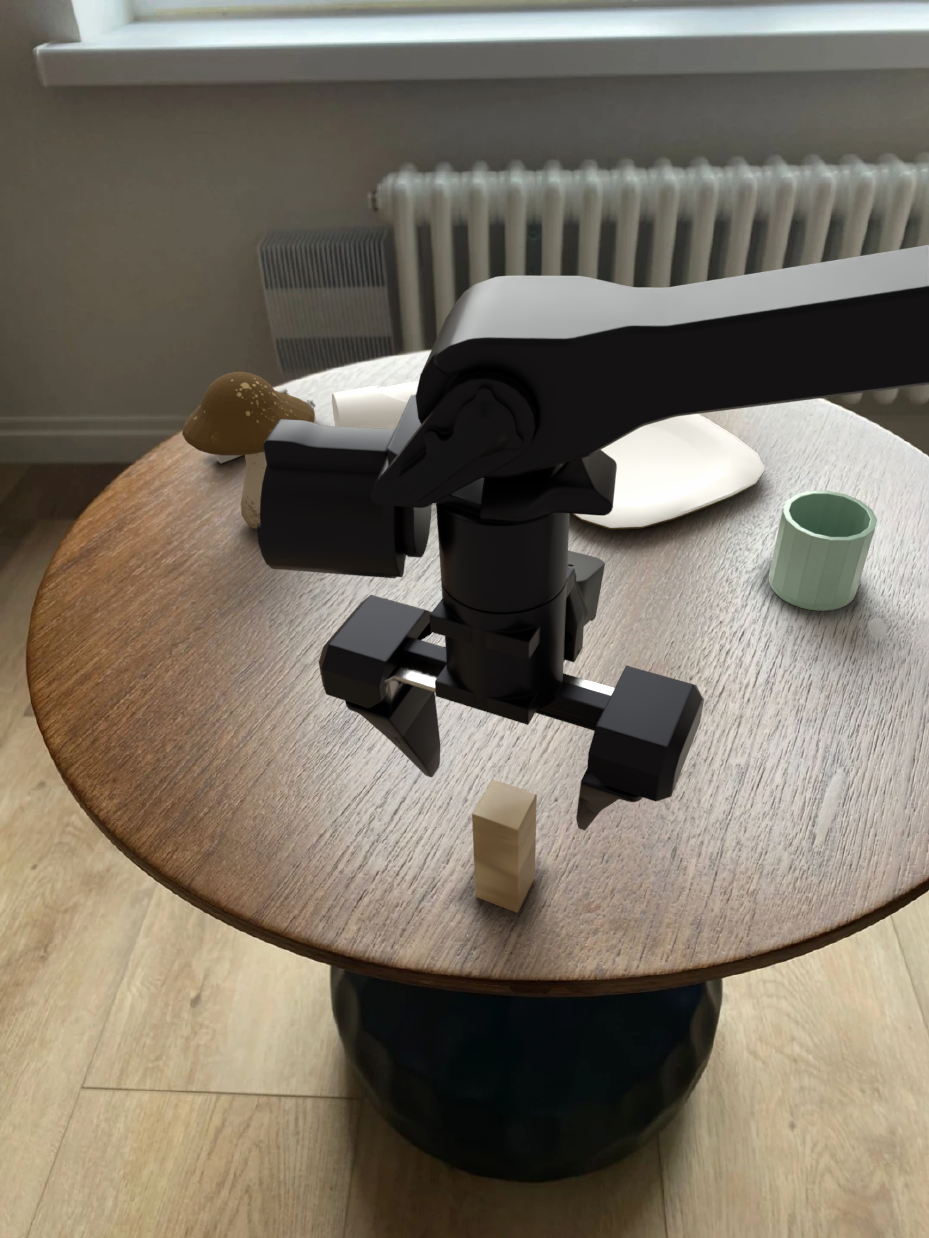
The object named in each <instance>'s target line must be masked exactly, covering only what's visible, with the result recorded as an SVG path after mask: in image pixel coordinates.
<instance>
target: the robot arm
mask: <svg viewBox="0 0 929 1238" xmlns="http://www.w3.org/2000/svg"><path fill="white" fill-rule="evenodd" d="M418 379H419V380H418V381H419V383H418V388H417V392H416V394H415V395H411V396H410V398H409V400H408V403H407V405H406V407H405V409H404V411H403V414H402V416H401V418H400V420H399V423H398V425H397V427H396V429H378V428H359V427H341V426H335V425H325V424H319V423H317V422H316V423H312V422H309V421H302V420H286V419H280V420H279V421H278V422H277V423H276V425H275V426H274V428H273V429H272V431H271V433H270V434H269V436H268V437H267V439H266V440H265V442H264V443H263V448H264V453H265V458H266V463H267V466H266V469H265V474H264V478H263V483H262V490H261V498H260V523H259V524H258V526H257V529H256V538H257V544H258V547H259V550H260V551H259V552H260V554H261V556H262V559H263V560H264V562H265V564H266V565H267V566H268V567H269V568H270V569H273V570H279V571H291V572H292V571H295V572H306V573H317V574H318V573H319V574H331V575H345V576H355V577H356V576H358V577H372V578H383V579H397V578H403V577H404V573H405V565H406V560H407V557H408V558H422V557H423V556H424V554H425V552H426V550H427V547H428V543H429V538H430V531H431V523H432V505H433V504H435V511H436V523H437V525H436V526H437V537H438V538H437V539H438V553H439V555H438V556H439V569H440V570H439V571H440V586H441V599H440V601H439V602H438V603H437V605H436V606H435V607H434V608H433V610H432V611H431V610H427V609H425V608H422V607H417V606H414V605H410V604H406V603H402V602H399V601H396V600H392V599H389V598H385V597H381V596H378V595H374V594H370V595H369V596H367V597H366V598H364V599H363V600H362V601H361V602H360V603H359V604H358V605H357V607H356V608H355V609H354V610H353V611H352V612H351V613H350V614H349V616H348V617H347V618H346V619H345V620H344V621H343V623H342V624H341V625H340V626H339V627H338V628H337V630H336V631H335V632H334V633H333V634H332V636H331V637H330V638H329V639H328V641H327V642H325V644H324V645H323V646H322V649H321V652H320V655H319V660H318V668H319V672H320V678H321V683H322V687H323V690H324V692H325V695H326V696H330V697H333V698H335V699H339V700H342V701H344V703H345V706H346V708H347V709H348V710H349V711H351V712H354V713H356V714H358V715H360V716H362V718H364V719H365V721H367V722H368V723H370V724H371V726H373V727H374V728H375V729H376V730H378V731H379V732H380V733H381V734H382V735H383V736H384V737H385V738H387V739H388V741H390V742H391V743H392V744H393V745H394V746H395V747H396V748H398V750H399V751H400V752H401V753H402V754H403V755H404V756H405V757H406V758H407V759H408V760H410V762H411V763H412V764H413V765H414V766H415V767H416V768H417V769H418V770H419V771H421V772H422V774H423V775H424V776H426V777H427V778H428V777H429V778H433V777H434V775H436V773H437V771H438V769H439V768H440V764H441V737H440V729H439V727H440V726H439V719H438V710H437V701H436V697H437V698H439V699H443V700H447V701H450V702H452V703H456V704H460V705H462V706H466V707H469V708H472V709H475V710H478V711H483V712H484V713H485V712H486V713H488V714H492V715H495V716H498V717H501V718H504V719H508V720H511V721H514V722H517V723H521V724H524V725H527V726H528V725H529V724H530V723H531V721H532V719H533V717H534V716H535V714H538V715H541V716H544V717H547V718H550V719H554V720H558V721H561V722H564V723H568V724H570V725H574V726H576V727H580V728H583V729H587V730H590V731H592V732H593V731H594V732H593V736H592V738H591V742H590V745H589V749H588V753H587V768H586V769H585V772H584V774H583V775H582V778H581V780H580V785H579V793H578V801H577V808H576V817H575V820H576V824H577V828H578V829H579V830H582V831H586V830H587V829H588V828H589V827H590V825H591V824H592V823H593V821H594V820H595V819H596V817H598V815H599V814H600V813H601V812H602V811H603V810H604V809H606V808H608V807H609V806H611V805H612V804H614V803H616V802H617V801H619V800H622V801H625V802H628V803H637V802H640V801H641V800H643V799H647V800H650V801H653V802H659V801H662V800H663V801H664V800H665V799H669V798H671V797H672V796H673V793H674V791H675V788H676V786H677V784H678V781H679V778H680V775H681V773H682V770H683V768H684V765H685V763H686V760H687V757H688V755H689V752H690V750H691V747H692V745H693V742H694V740H695V737H696V734H697V732H698V730H699V728H700V727H699V726H700V724H701V720H702V715H703V709H704V704H705V703H704V702H705V698H704V697H703V695H702V693H701V691H700V690H699V687H698V686H697V685H696V684H694V683H690V682H687V681H683V680H680V679H676V678H673V677H669V676H665V675H663V674H658V673H654V672H651V671H647V670H644V669H641V668H637V667H633V666H629V665H625V667H624V669H623V670H622V672H621V674H620V677H619V679H618V680H617V683H616V684H615V686H614V687H613V686H610V685H606V684H602V683H600V682H595V681H592V680H588V679H586V678H582V677H578V676H574V675H571V674H568V673H564V665H565V664H564V663H565V661H567V662H569V663H570V662H571V663H576V661H577V659H578V657H579V655H580V653H581V651H582V650H583V648H584V647H583V645H584V629H585V626H587V624H588V623H589V622H590V621H591V622H593V621H594V620H595V619H596V617H597V611H598V605H599V601H600V594H601V591H602V590H601V589H602V584H603V578H604V573H605V567H606V562H605V561H604V560H603V559H601V558H599V557H597V556H593V555H589V554H585V553H582V552H581V553H580V552H576V551H573V550H569V540H570V539H569V538H570V537H569V535H570V534H569V533H570V514H571V515H573V514H585V515H600V516H604V515H607V514H609V513H610V512H611V511H612V509H613V501H614V491H615V481H616V470H617V464H616V462H615V460H614V459H612V458H611V457H610V456H608V455H607V454H606V453H604V452H603V451H602V450H601V449H603V448H605V447H606V446H608V445H610V444H612V443H614V442H615V441H617V440H619V439H621V438H622V437H624V436H626V435H628V434H630V433H631V432H633V431H635V430H637V429H638V428H640V427H643V426H645V425H648V424H652V423H655V422H659V421H662V420H666V419H669V418H673V417H677V416H684V415H692V414H700V415H701V414H708V413H714V412H723V411H724V412H725V411H730V410H738V409H739V410H740V409H747V408H755V407H762V406H763V407H764V406H771V405H778V404H787V403H794V402H795V403H796V402H803V401H810V400H819V399H826V398H834V397H842V396H850V395H858V394H865V393H872V392H881V391H888V390H896V389H906V388H913V387H920V386H927V385H929V244H927V245H920V246H913V247H907V248H901V249H894V250H889V251H882V252H876V253H870V254H863V255H857V256H852V257H845V258H839V259H834V260H827V261H822V262H821V261H820V262H814V263H809V264H803V265H797V266H790V267H785V268H778V269H772V270H766V271H761V272H755V273H753V272H752V273H747V274H742V275H736V276H729V277H723V278H717V279H711V280H706V281H699V282H692V283H686V284H681V285H680V284H679V285H675V286H666V287H647V286H646V287H644V286H643V287H635V286H628V285H624V284H620V283H616V282H611V281H607V280H603V279H598V278H594V277H589V276H582V275H501V276H495V277H491V278H489V279H486V280H483V281H480V282H477V283H475V284H473V285H472V286H470V287H469V288H467V289H466V290H465V291H463V292H462V294H461V296H460V297H459V298H458V299H457V300H456V302H455V303H454V305H453V306H452V308H451V309H450V311H449V313H448V314H447V316H446V317H445V319H444V322H443V323H442V326H441V328H440V331H439V333H438V335H437V337H436V339H435V342H434V344H433V346H432V348H431V350H430V353H429V354H428V357H427V359H426V361H425V364H424V365H423V368H422V371H421V372H420V375H419V378H418ZM432 634H436V635H440V636H443V637H444V644H445V646H442V645H439V644H436V643H432V642H428V641H425V640H424V639H426V638H427V637H429V636H431V635H432Z"/></svg>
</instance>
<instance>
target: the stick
mask: <svg viewBox="0 0 929 1238" xmlns="http://www.w3.org/2000/svg"><path fill="white" fill-rule="evenodd" d="M537 796H538V795H537V794H536V793H534V792H531V791H528V790H525V789H522V788H519V787H517V786H513V785H510V784H507V783H504V782H501V781H498V780H496V779H491V780H490V781H489V783H488V786H487V787H486V789H485V791H484V793H483V794H482V795H481V797H480V800H478V803H477V805H476V807H475V808H474V810H473V812H472V813H471V824H472V826H471V827H472V846H473V868H474V870H473V871H474V888H475V897H476V898H477V899H480V900H483V901H485V902H488V903H491V904H493V905H495V906H498V907H500V908H503V909H505V910H508V911H511V912H514V913H516V914H518V913H519V911H520V909H521V907H522V905H523V904H524V901H525V899H526V897H527V895H528V893H529V891H530V888H531V887H532V885H533V883H534V880H535V878H536V846H537V845H536V841H537V802H538V801H537V800H538V799H537Z"/></svg>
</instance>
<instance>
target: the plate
mask: <svg viewBox="0 0 929 1238" xmlns="http://www.w3.org/2000/svg"><path fill="white" fill-rule="evenodd" d="M601 450H602V451H603V452H604V453H606V454H607V455H608V456H610V457H611V458H612V459H614V460H615V462H616V464H617V470H616V481H615V491H614V501H613V509H612V511H611V512H610V513H609V514H607V515H604V516H600V515H585V514H572V515H573V516H574V517H576V518H577V519H579V520H580V521H582V522H584V523H588V524H592V525H595V526H598V527H602V528H605V529H608V530H629V529H630V530H631V529H645V528H649V527H652V526H655V525H659V524H663V523H666V522H670V521H674V520H676V519H679V518H682V517H684V516H687V515H690V514H693V513H696V512H698V511H700V510H703V509H706V508H709V507H711V506H713V505H716V504H718V503H721V502H723V501H726V500H728V499H730V498H732V497H733V498H734V497H735V496H737V495H739V494H740V493H742V492H744V491H746V490H748V489H750V488H752V487H754V486H756V484H757V483H758V481H759V480H760V479H761V477H762V476H763V475H764V474H765V472H766V467H765V465H764V463H763V461H762V459H761V457H760V455H759V454H758V452H756V451H755V450H754V449H752V448H751V447H750V446H748V444H746V443H744V441H742V440H741V439H739V437H737V436H736V435H734V434H732V433H730V432H729V431H728V430H726V429H724V428H722V427H721V426H719V425H718V424H716V423H715V422H713V421H712V420H710V419H708V418H707V417H706V416H705V417H704V416H703V415H702V414H701V413H700V414H692V415H684V416H677V417H673V418H669V419H666V420H662V421H659V422H655V423H652V424H648V425H645V426H643V427H640V428H638V429H637V430H635V431H633V432H631V433H630V434H628V435H626V436H624V437H622V438H621V439H619V440H617V441H615V442H614V443H612V444H610V445H608V446H606V447H605V448H603V449H601Z"/></svg>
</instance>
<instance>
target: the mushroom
mask: <svg viewBox="0 0 929 1238" xmlns="http://www.w3.org/2000/svg"><path fill="white" fill-rule="evenodd" d="M306 402H307V401H306ZM306 402H304V400H302V399H301V398H298V397H296V396H293V395H291V394H289V395H287V394H284V393H281V392H279V390H276V389H274V387H273V386H272V385H271V384H270V383H269V382H268V381H267V380H265V379H264V378H262V377H260V376H259V375H257V374H254V373H251V372H248V371H246V372H245V371H233V372H229V373H226V374H222V375H221V376H219V377H217V378H215V380H214V381H212V383H210V385H209V386H208V387H207V389H206V390H205V392H204V394H203V396H202V398H201V402H200V403H199V405H198V406H197V407H196V408H195V409H194V411H193V412H192V413H191V414H190V415H189V416H188V418H186V420H185V421H184V424H183V428H182V432H181V434H182V436H183V438H184V440H185V442H186V443H187V444H189V445H190V446H191V447H193V448H195V450H197V451H199V452H202V453H206V454H210V455H215V454H216V455H242V456H244V459H245V471H244V479H243V487H242V492H241V500H240V511H241V517H242V518H243V520H244V522H245V523H246V524H247V526H248V527H250V528H252V529H256V530H257V526H258V524H259V523H260V498H261V490H262V483H263V478H264V474H265V469H266V466H267V463H266V458H265V453H264V448H263V443H264V442H265V440H266V439H267V437H268V436H269V434H270V433H271V431H272V429H273V428H274V426H275V425H276V423H277V422H278V421H279V420H280V419H286V420H302V421H309V422H312V423H313V422H314V419H315V418H316V412H315V410H314V411H313V409H312V408H311V407H310V406H309V405H308V404H307V403H306Z"/></svg>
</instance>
